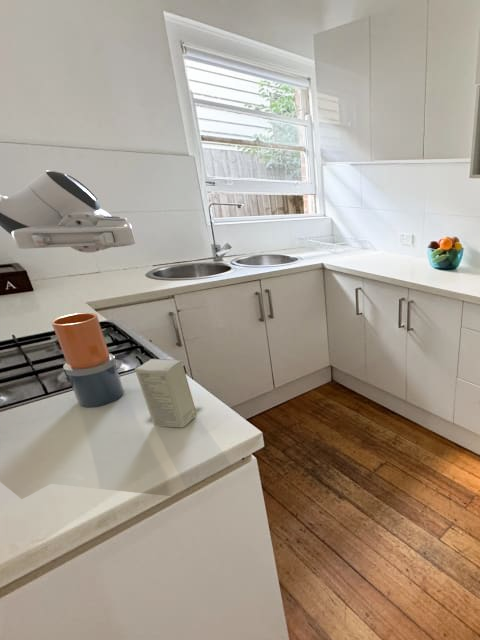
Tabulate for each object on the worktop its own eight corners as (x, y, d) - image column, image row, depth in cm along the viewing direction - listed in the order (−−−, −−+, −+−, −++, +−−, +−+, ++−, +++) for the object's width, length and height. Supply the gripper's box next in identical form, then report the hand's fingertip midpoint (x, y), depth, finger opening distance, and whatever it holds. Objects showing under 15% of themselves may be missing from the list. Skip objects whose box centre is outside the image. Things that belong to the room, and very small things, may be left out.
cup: (61, 363, 74) (44, 320, 71) (99, 351, 80) (85, 310, 76) (79, 371, 72) (62, 327, 68) (117, 358, 77) (104, 316, 74)
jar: (69, 401, 77) (54, 364, 74) (112, 384, 84) (101, 349, 81) (90, 412, 74) (76, 374, 71) (133, 393, 81) (122, 358, 77)
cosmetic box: (197, 415, 74) (184, 359, 69) (182, 429, 70) (167, 371, 65) (167, 412, 75) (152, 357, 70) (150, 426, 71) (133, 368, 66)
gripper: (20, 219, 82) (-8, 227, 71) (134, 217, 91) (125, 224, 80) (31, 248, 85) (6, 260, 74) (141, 243, 94) (133, 254, 82)
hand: (69, 241), depth 77 cm, fingers open, 8 cm apart
